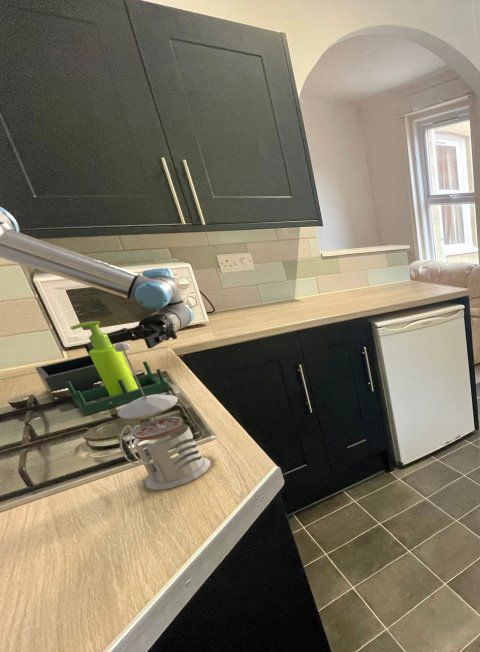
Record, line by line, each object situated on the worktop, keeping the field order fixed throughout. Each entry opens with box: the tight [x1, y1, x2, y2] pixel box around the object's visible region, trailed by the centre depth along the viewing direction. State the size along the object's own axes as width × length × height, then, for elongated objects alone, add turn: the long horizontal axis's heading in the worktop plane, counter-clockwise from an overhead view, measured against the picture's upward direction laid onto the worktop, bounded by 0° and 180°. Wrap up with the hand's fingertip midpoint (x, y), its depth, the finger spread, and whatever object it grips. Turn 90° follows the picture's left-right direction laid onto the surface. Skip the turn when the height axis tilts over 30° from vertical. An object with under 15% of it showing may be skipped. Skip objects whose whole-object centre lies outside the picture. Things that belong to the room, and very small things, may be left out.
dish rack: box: [65, 361, 171, 416], centre depth 109 cm, size 17×12×6 cm
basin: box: [34, 354, 102, 403], centre depth 116 cm, size 16×14×7 cm
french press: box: [114, 341, 211, 491], centre depth 71 cm, size 10×12×25 cm
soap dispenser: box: [69, 320, 140, 397], centre depth 106 cm, size 6×7×20 cm
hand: (118, 346), depth 110 cm, fingers open, 13 cm apart
